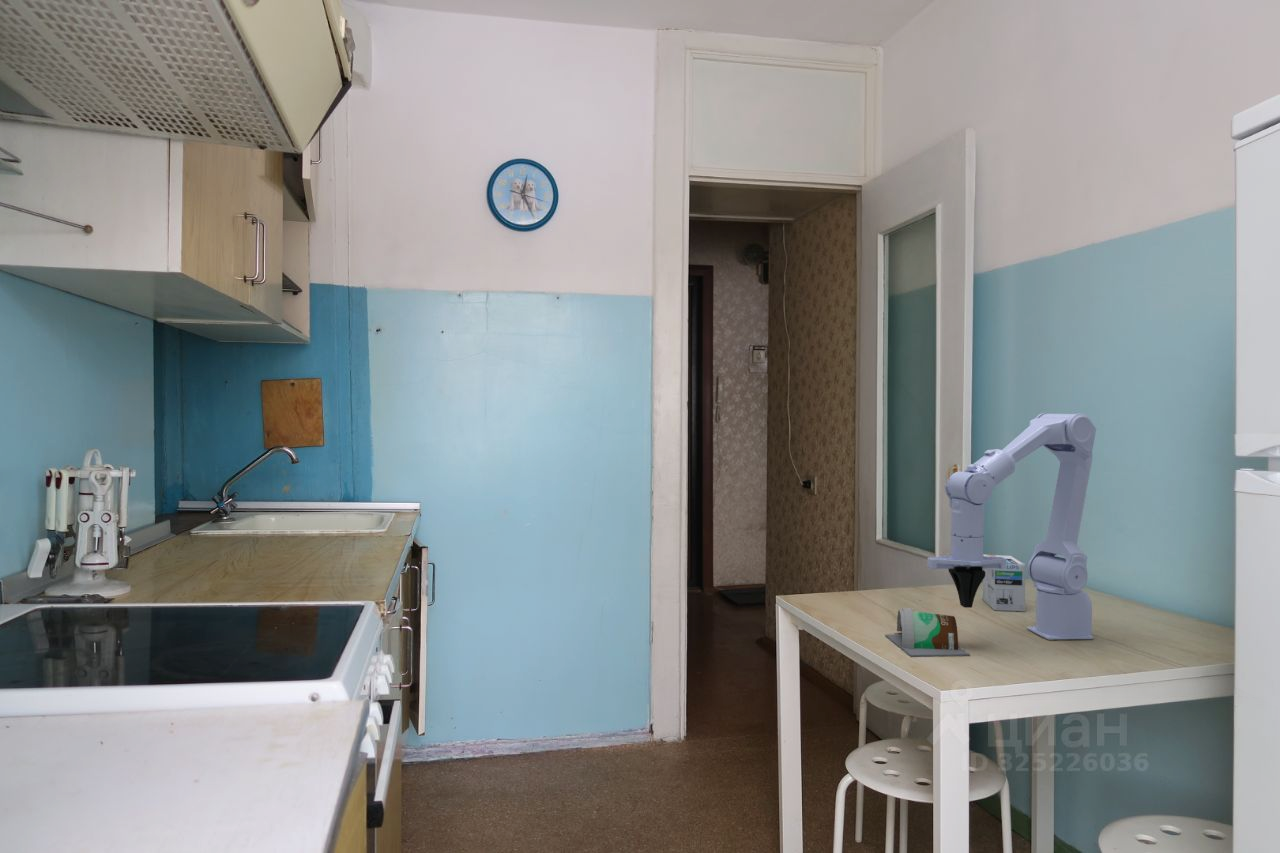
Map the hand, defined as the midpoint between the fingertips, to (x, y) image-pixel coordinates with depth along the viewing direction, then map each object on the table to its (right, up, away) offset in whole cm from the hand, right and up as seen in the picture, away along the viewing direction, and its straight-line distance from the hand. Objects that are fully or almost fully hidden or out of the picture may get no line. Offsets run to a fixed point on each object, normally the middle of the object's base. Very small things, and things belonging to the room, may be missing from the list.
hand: (966, 606), depth 154 cm
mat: (-8, -7, 0) cm, 11 cm away
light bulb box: (+21, -7, +30) cm, 37 cm away
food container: (-2, -4, +1) cm, 4 cm away
